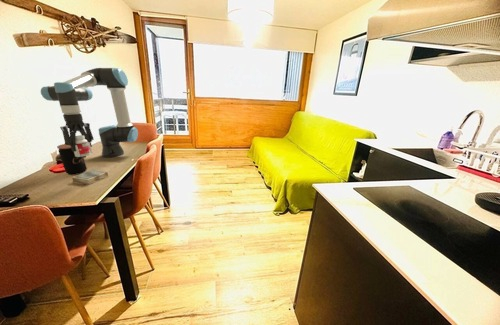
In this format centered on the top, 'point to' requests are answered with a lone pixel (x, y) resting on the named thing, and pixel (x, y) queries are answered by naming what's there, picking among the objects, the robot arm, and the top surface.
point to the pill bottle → (82, 145)
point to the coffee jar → (71, 160)
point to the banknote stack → (90, 177)
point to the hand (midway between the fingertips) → (84, 154)
